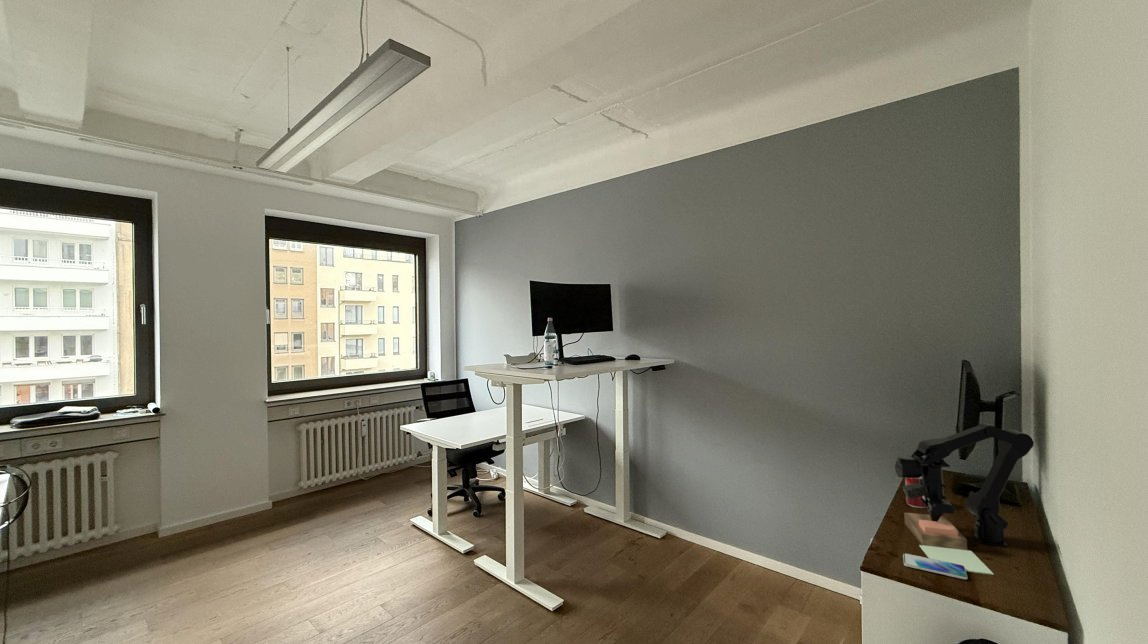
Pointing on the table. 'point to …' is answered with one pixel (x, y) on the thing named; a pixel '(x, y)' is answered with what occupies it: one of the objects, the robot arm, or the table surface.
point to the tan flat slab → (933, 539)
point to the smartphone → (935, 566)
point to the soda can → (916, 501)
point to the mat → (957, 558)
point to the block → (938, 527)
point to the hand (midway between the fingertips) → (934, 522)
